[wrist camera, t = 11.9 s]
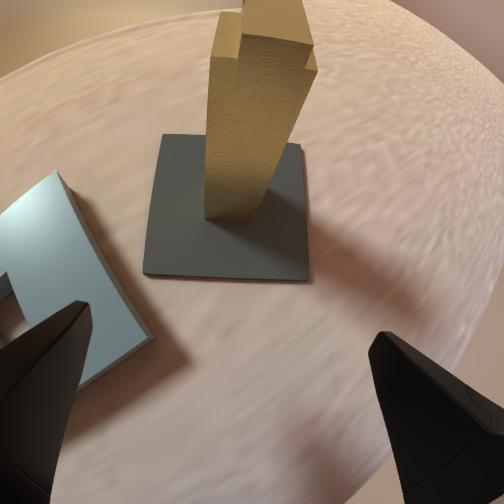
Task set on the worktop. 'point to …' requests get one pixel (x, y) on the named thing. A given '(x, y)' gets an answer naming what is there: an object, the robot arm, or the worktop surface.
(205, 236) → the rubber mat
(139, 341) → the block
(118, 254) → the worktop surface
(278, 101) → the brass key
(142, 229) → the worktop surface
